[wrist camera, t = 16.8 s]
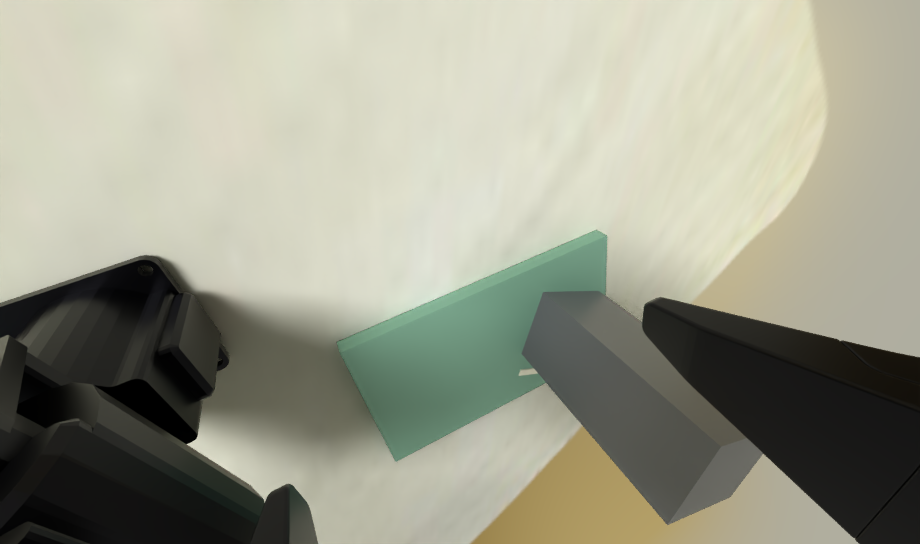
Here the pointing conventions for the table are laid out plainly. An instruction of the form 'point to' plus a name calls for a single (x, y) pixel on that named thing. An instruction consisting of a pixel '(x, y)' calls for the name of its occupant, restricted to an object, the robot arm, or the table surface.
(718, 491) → the block
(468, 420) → the board
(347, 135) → the table surface
